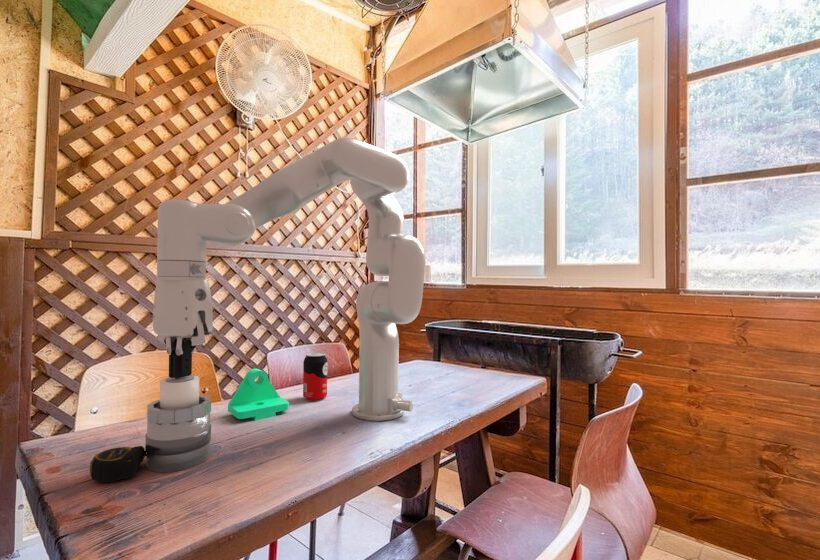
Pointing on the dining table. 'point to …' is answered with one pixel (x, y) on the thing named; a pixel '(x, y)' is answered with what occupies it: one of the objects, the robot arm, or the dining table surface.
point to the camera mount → (256, 398)
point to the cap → (179, 392)
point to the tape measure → (116, 463)
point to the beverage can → (315, 376)
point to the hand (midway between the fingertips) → (180, 376)
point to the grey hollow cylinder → (177, 436)
